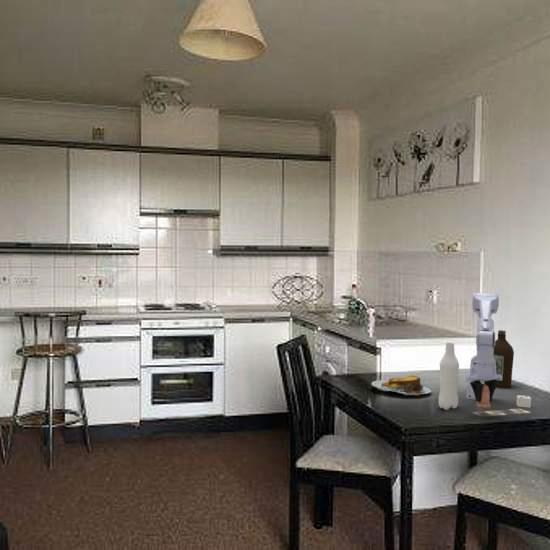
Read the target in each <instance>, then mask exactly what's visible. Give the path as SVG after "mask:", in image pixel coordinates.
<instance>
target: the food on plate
mask: <svg viewBox="0 0 550 550" xmlns="http://www.w3.org/2000/svg"><path fill="white" fill-rule="evenodd" d="M371 386H372V387H374V388H377V390H379V391H383V392H387V393H388V392H389V391H390V392H393V393H394V392H395V393H397V394H401V395H403V396H420V395H425V394H426V395H427V394H431V393H432V390H431V389H430V388H428V387H426V386H423V385H422V384H421V377H420V376H416V375H409V376H406V377H401V378H400V377H392V378H389V380H385V379H384V380H383V379H381V380H375V381H372V382H371ZM420 391H425V393H422V392H420ZM419 392H420V393H419ZM418 393H419V394H418Z"/></svg>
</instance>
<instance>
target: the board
mask: <svg viewBox="0 0 550 550" xmlns="http://www.w3.org/2000/svg"><path fill="white" fill-rule="evenodd" d="M531 413H532V412H530V411H528V410H525V409H522V408H521V407H518V408H510V409H497V410H488V411H487V410H486V411H485V410H484V411H474V412H473V411H472V414H475V415H477V416H479V417H481V418H485V417H486V418H487V417H495V416H497V417H498V416H508V415H517V414H531Z"/></svg>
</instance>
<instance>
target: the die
mask: <svg viewBox="0 0 550 550" xmlns="http://www.w3.org/2000/svg"><path fill="white" fill-rule="evenodd" d="M516 406H517V407H518V408H532V398H531V396H530V395H516Z"/></svg>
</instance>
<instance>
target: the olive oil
mask: <svg viewBox="0 0 550 550" xmlns="http://www.w3.org/2000/svg"><path fill="white" fill-rule="evenodd" d="M506 336H507V334H506V330H501V329H500V330H498V331H497V339H495V346H494V345H493V344H492V346H493V347H494V352H493V358H494V359H495V361H496V374H499V375H502V381H499V380H496V381H497V382H499V385H498V386H497V388H498V389H499V388H500V389H509V387H510V388H511V387H512V379H513V368H514V367H513V366H514V359H515V358H514V356H515V353H514V352H515V350H514V348H513V346H512V345H511V343H509V342H508V341H507V337H506ZM497 388H496V389H497Z"/></svg>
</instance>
